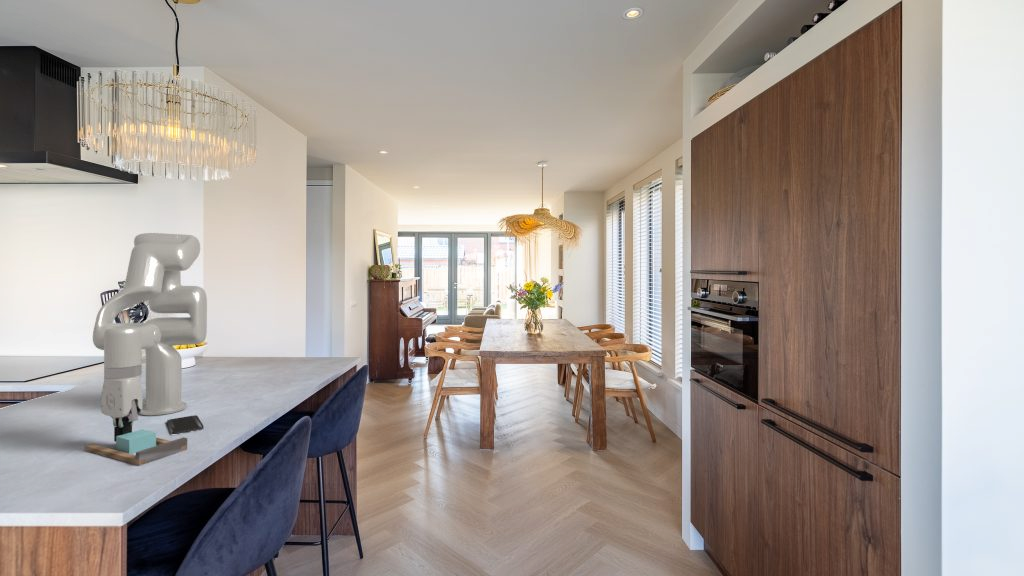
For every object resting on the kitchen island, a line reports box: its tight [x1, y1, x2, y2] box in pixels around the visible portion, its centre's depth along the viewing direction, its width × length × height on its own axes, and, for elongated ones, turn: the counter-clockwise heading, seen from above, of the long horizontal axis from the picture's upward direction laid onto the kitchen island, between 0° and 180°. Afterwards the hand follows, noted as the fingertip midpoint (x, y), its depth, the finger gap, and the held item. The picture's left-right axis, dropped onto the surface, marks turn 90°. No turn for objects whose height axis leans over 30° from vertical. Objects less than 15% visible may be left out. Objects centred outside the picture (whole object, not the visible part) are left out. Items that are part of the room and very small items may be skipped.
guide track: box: [84, 437, 188, 467], centre depth 115 cm, size 23×11×3 cm, turn 69°
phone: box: [166, 414, 204, 435], centre depth 134 cm, size 8×1×15 cm
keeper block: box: [115, 428, 157, 455], centre depth 116 cm, size 6×6×4 cm
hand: (123, 440), depth 117 cm, fingers closed
